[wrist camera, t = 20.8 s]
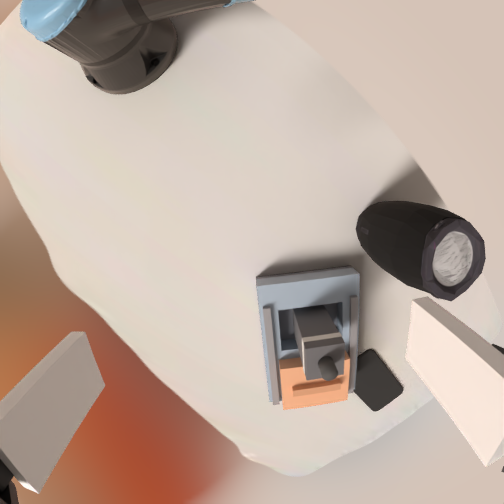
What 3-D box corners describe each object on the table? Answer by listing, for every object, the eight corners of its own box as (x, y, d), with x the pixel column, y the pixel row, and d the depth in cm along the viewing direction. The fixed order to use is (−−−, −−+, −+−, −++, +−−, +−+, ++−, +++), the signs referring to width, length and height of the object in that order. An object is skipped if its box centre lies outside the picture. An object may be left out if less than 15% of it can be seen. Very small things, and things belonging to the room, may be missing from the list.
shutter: (278, 359, 42) (280, 373, 38) (345, 350, 41) (352, 362, 38) (282, 399, 43) (284, 414, 40) (343, 390, 43) (349, 403, 40)
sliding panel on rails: (256, 277, 43) (256, 288, 38) (350, 265, 43) (361, 275, 38) (268, 387, 48) (270, 405, 43) (348, 375, 47) (356, 391, 42)
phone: (374, 413, 49) (336, 374, 47) (373, 410, 50) (335, 372, 47) (405, 391, 48) (371, 348, 45) (403, 388, 49) (370, 345, 46)
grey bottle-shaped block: (291, 306, 43) (308, 360, 29) (322, 302, 43) (351, 353, 29) (293, 333, 44) (309, 393, 30) (323, 329, 44) (349, 386, 30)
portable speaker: (413, 214, 41) (500, 238, 22) (385, 268, 43) (459, 321, 24) (370, 186, 40) (451, 193, 21) (341, 243, 42) (404, 289, 23)
